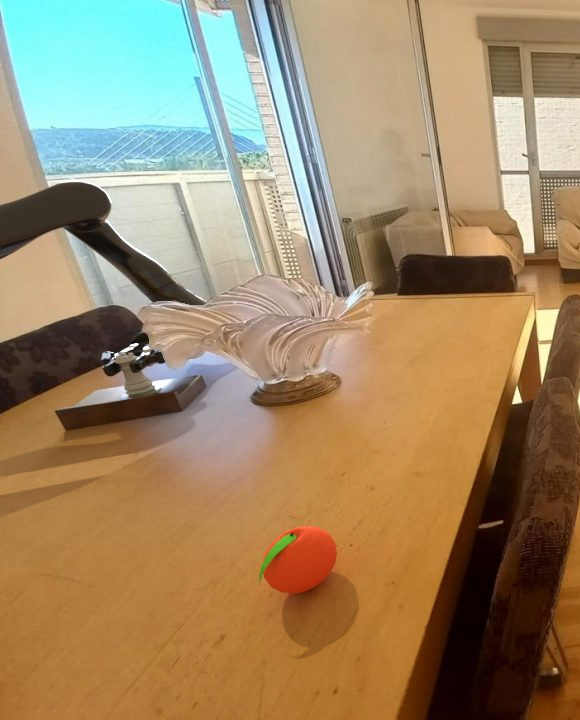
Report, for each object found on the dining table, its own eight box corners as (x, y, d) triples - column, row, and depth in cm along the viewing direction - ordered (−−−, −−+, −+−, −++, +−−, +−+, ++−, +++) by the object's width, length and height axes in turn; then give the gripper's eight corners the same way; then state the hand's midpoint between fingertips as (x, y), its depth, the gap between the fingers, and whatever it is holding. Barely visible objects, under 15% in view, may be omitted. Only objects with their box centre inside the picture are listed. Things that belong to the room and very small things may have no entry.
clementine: (299, 623, 49) (277, 572, 46) (248, 609, 51) (225, 559, 48) (357, 564, 56) (342, 517, 53) (311, 553, 58) (294, 507, 55)
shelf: (65, 430, 89) (53, 410, 87) (103, 402, 99) (93, 384, 97) (182, 411, 94) (174, 392, 93) (206, 386, 105) (199, 369, 103)
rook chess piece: (120, 395, 94) (102, 358, 91) (146, 385, 98) (128, 350, 95) (137, 397, 93) (119, 360, 90) (162, 387, 97) (145, 351, 94)
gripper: (115, 329, 102) (63, 358, 87) (195, 320, 107) (157, 346, 92) (131, 361, 105) (82, 394, 90) (207, 351, 110) (173, 380, 95)
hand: (120, 369), depth 91 cm, fingers closed on rook chess piece, 3 cm apart
